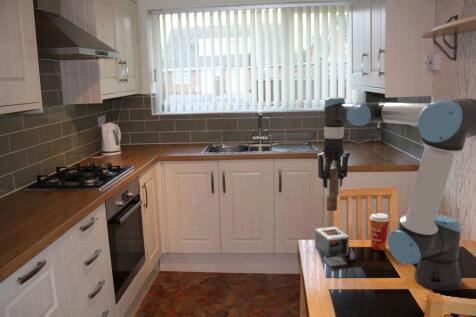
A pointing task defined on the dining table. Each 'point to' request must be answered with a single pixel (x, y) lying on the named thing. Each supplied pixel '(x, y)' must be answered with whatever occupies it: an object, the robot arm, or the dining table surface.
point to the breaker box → (324, 242)
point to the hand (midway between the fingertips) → (332, 194)
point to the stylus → (332, 189)
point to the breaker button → (333, 242)
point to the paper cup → (379, 230)
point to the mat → (334, 261)
